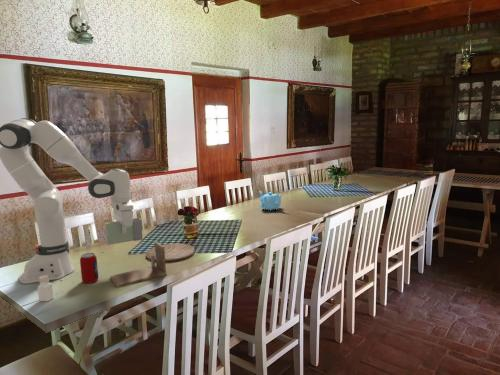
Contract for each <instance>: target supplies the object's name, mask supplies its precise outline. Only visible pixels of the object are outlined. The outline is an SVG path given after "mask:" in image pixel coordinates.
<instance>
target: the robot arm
mask: <svg viewBox="0 0 500 375" xmlns="http://www.w3.org/2000/svg"><path fill="white" fill-rule="evenodd" d="M33 144H36V145H37V146H39V147H40V148H41V149H42V150H43V151H44V152H46V154H47V155H48V156H50V158H52V159H54V160H55V161H56V162H58V163H59V164H63V165H68V166H70V167H73V169H75V170H76V171H77V172H78V173H79V174H80V175H81V176H83V178H85V179H86V180H87V182H88V183H89V184H88V185H87V186H88V187H87V189H88V190H87V191H88V193H89V194H90V195H91V197H93V198H94V199H95V198H96V199H103V198H109V197H110V201H111V202H110V205H111V209H112V212H113V214H112V215H113V216H112V217H113V219H114V220H115V222H116V221H118V222H119V223H120V224H121V225H122V233H123V234H124V233H126V229H127V227H131V226H132V223H133V219H134V217H133V213H134V212H133V210H134V204H133V202H132V195H131V179H130V174H129V172H128V171H127V170H125V169H121V168H111V169H110V170H108V172H105V173H103V172H101V171H99V170H97V169H96V168H95V167H94V166H93V165H92V164H91V163H90V162H89V161H88V160H87V159H86V158H85V157H84V156H83V155H82V153H81V152H80V150H79V149H78V147H77V146H76V144H75V143H74V142H73V141H72V140H71V139H70V137H68V135H67V134H65V132H64V131H63V130H61V129H60V128H59V127H58V126H57V125H55V124H53V123H52V122H51V121H49V120H45V119H43V120H41V121H40V120H39V121H38V122H37V121H35V120H33V119H32V118H25V117H24V118H19V119H14V120H12V121H10V122H8V123H5V124H3V125H1V126H0V145H1V147H0V160H1V163H2V164H3V167H4V168H5V169H6V170H7V172H8V174H10V176H11V177H12V178H13V180H14V181H15V182H16V184H17V185H18V186H19V188H20V189H22V190H23V192H25V193H26V194H27V195H28V196H29V197H30V198H31V199H32V200H33V208H34V214H35V221H36V224H37V227H38V228H37V229H38V235H39V243H40V244H39V245H38V244H35V245H34V250H35V251H36V252H35V253H36V254H35V255H33V257H31V258H29V260H28V261H27V262H26V263H25V265H24V269H23V272H22V273H21V274H19V275H18V276H19V278H18V280H19V282H20V283H21V284H23V285H28V284H34V283H40V279H39V277H41V276H44V275H47V276H48V277H49V281H52V280H59V279H62V278H64V277H65V276H67V275H69V274H71V273H72V272H74V270H75V268H74V265H73V263H72V259H71V256H70V244H69V241H68V239H67V238H68V237H67V228H66V227H67V226H66V222H65V217H64V216H65V215H64V209H63V208H64V207H63V203H64V196H63V194H62V193H61V192H60V190H59V189H58V188H57V186H56V185H55V184H54V183H53V182H52V181H51V180H50V179H49V178H48V177H47V175H46V174H45V173H44V171H43V170H42V169H41V168H40V166H39V164H37V162H36V161H35V159H34V158H33V156H31V154H30V153H29V148H28V147H31V146H32V145H33Z"/></svg>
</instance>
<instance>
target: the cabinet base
mask: <svg viewBox="0 0 500 375" xmlns="http://www.w3.org/2000/svg"><path fill="white" fill-rule="evenodd" d="M162 245H163V244H160V243H159V242H158V241H154V247H155V254H156V262H155V257H154V255H151V261H150V263H151V266H147V267H142V268H139V269H134V270H131V271H125V272H122V273H116V274H112V275H110V276H109V278H110V280H111V281H112V282H113V284H114V285H115V287H116V288H119V287H123V286H124V287H125V286H128V285H132V284H136V283H140V282H144V281H147V280H152V279H156V278H160V277H164V276H167V275H168V274H167V270H166V269H167V268H166V263H165V251H164V246H162Z"/></svg>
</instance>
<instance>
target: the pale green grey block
mask: <svg viewBox="0 0 500 375" xmlns="http://www.w3.org/2000/svg"><path fill="white" fill-rule="evenodd" d="M105 235H106V244H107V245H108V246H110V245H115V244H116V245H117V244H121V243H126V242H133V241H134V242H137V241H143V225H142V219H141V217H135V218H133V223H132V226H131V227H127V229H126V233H124V234H123V233H122V225H121V224H120V223H119V222H118V221H116V220H115V221H110V222H105Z"/></svg>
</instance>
